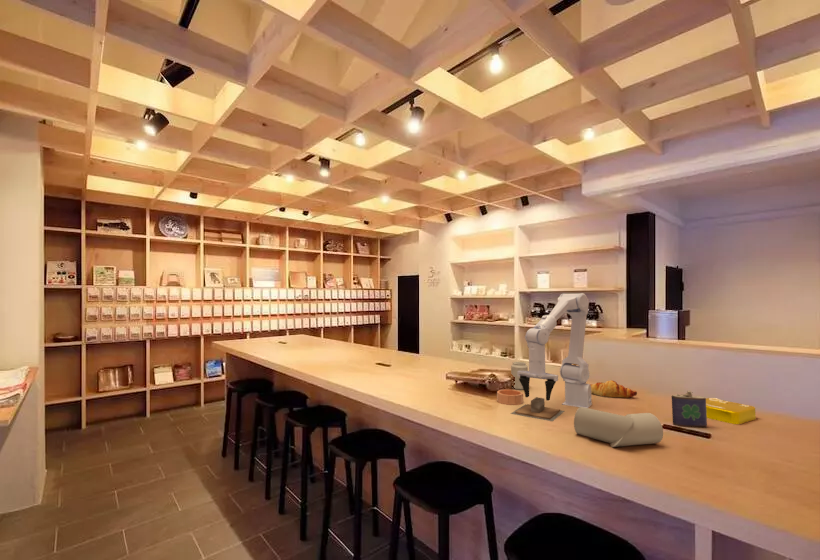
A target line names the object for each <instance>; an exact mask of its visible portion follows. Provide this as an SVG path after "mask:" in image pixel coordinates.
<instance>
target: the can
mask: <svg viewBox="0 0 820 560" xmlns="http://www.w3.org/2000/svg"><path fill="white" fill-rule="evenodd" d="M517 371H529V365H527V363H526V362H524V361H523V362H522V361H513V362H512V364H511V365H510V373H511V374H512V375H513V376H514V377H515V381H514V383H515V385H514V388H515V389H514V388H513V389H514V390H517V391H524V389H523V386H522V384H521V382H520V381H519V378H520V377H519V376H517ZM511 374H510V375H511Z"/></svg>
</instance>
